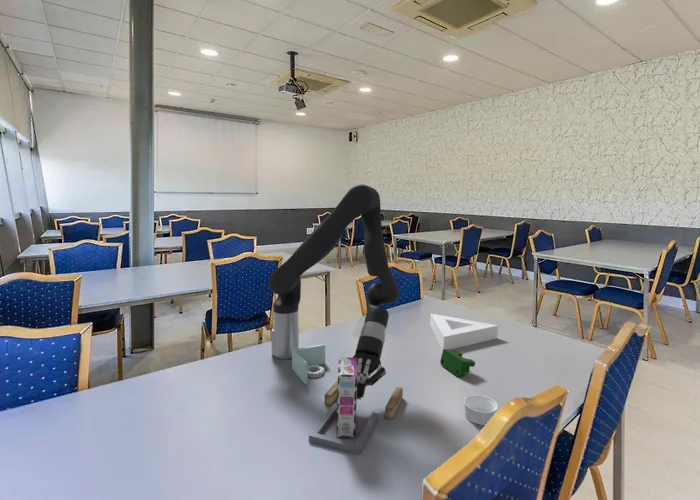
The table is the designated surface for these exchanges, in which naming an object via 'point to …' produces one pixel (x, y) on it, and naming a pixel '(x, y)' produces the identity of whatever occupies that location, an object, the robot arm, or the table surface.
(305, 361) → the right angle wall
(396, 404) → the oak rails
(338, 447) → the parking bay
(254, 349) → the table surface
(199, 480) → the table surface
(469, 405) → the ramekin
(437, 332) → the triangle block
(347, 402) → the candy bar box
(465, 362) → the clamp
